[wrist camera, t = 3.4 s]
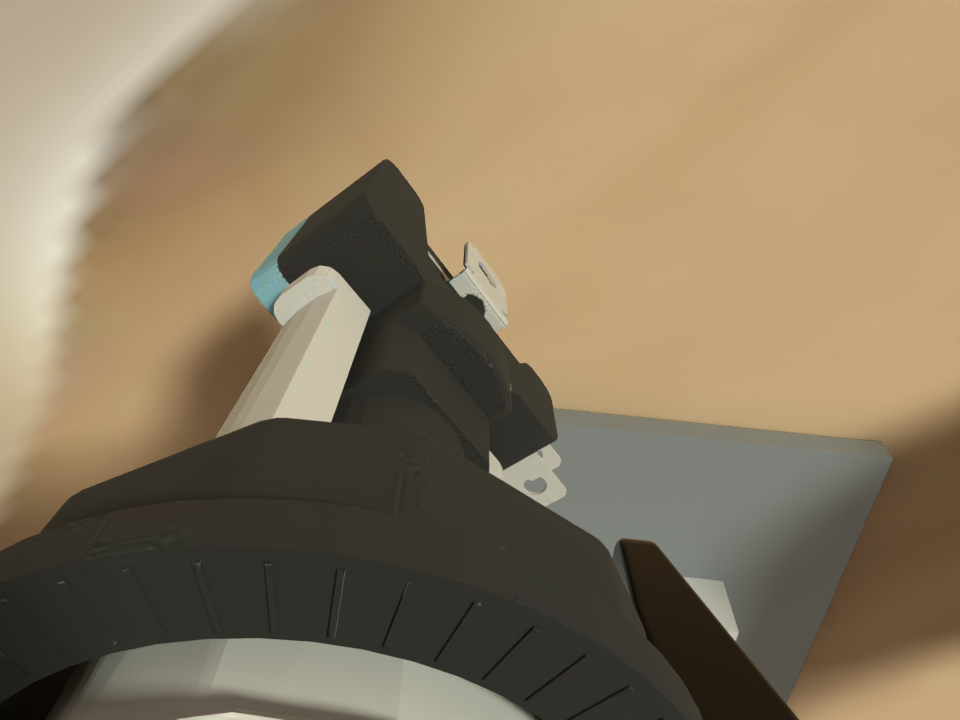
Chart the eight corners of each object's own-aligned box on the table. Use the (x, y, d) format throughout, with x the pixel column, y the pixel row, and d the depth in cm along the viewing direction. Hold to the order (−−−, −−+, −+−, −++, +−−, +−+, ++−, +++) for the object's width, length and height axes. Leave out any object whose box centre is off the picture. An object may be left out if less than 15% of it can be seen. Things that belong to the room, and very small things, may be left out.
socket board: (881, 442, 20) (928, 505, 18) (718, 827, 30) (735, 903, 27) (270, 379, 21) (233, 431, 18) (302, 777, 30) (281, 847, 28)
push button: (658, 389, 13) (1032, 1214, 4) (433, 516, 14) (355, 1333, 6) (448, 80, 11) (276, 506, 2) (201, 270, 12) (-594, 1041, 3)
